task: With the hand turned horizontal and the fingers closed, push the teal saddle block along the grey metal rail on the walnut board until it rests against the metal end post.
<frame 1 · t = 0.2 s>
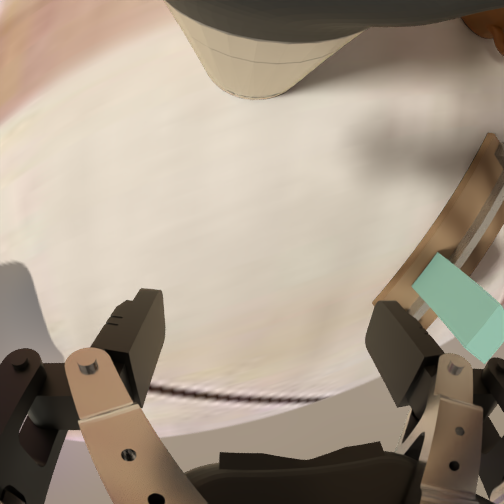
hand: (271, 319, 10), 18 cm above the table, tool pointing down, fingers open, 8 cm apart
board: (459, 237, 29), on the table
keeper: (463, 306, 24), point 7 cm above the table, slide at -6.0 cm
rail: (487, 256, 24), on the board, point 6 cm above the table
mug: (472, 25, 18), on the table
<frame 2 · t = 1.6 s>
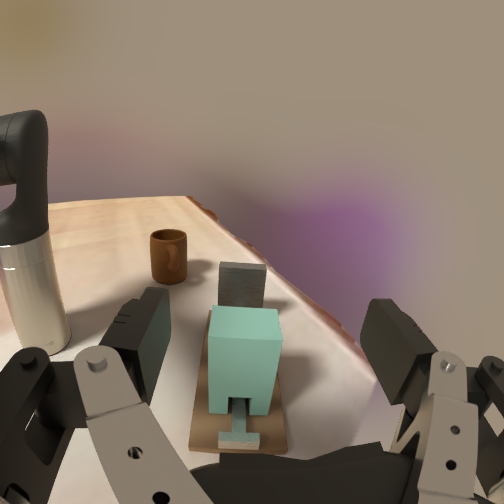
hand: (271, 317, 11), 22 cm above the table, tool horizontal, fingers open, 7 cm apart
board: (238, 372, 37), on the table
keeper: (241, 365, 29), point 7 cm above the table, slide at -6.0 cm
rail: (240, 339, 35), on the board, point 6 cm above the table
mug: (171, 282, 59), on the table
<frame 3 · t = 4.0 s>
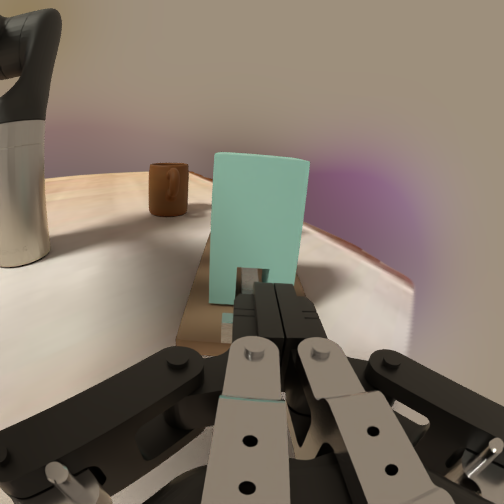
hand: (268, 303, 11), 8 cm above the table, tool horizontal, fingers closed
board: (246, 276, 31), on the table
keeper: (254, 227, 23), point 7 cm above the table, slide at -6.0 cm
rail: (250, 224, 29), on the board, point 6 cm above the table
mug: (169, 216, 53), on the table
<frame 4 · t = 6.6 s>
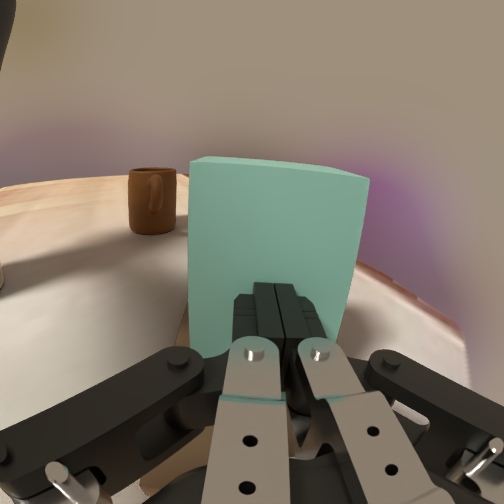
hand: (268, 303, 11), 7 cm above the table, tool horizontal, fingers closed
board: (249, 338, 21), on the table
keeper: (264, 283, 14), point 7 cm above the table, slide at -5.1 cm, touching gripper
mug: (153, 233, 43), on the table
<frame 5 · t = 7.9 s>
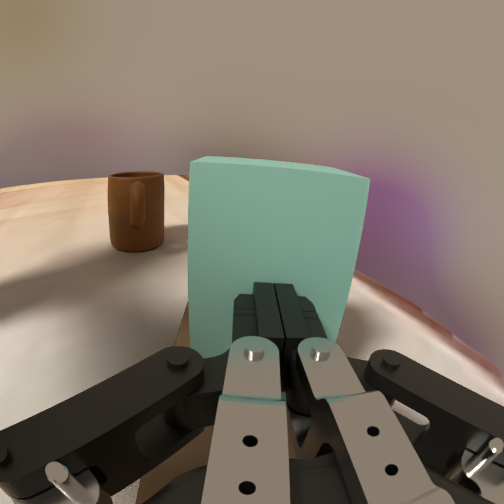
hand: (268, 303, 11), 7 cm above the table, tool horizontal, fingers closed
board: (254, 417, 14), on the table
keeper: (264, 283, 14), point 7 cm above the table, slide at 2.5 cm, touching gripper
mug: (138, 250, 36), on the table
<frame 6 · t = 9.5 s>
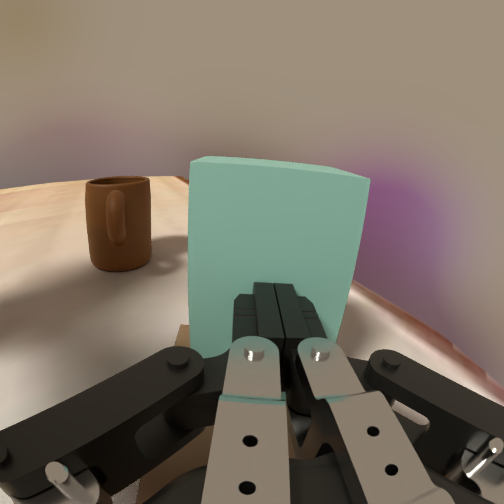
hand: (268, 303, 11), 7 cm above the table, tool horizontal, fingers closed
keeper: (264, 283, 14), point 7 cm above the table, slide at 8.5 cm, touching gripper, rail
mug: (121, 269, 30), on the table
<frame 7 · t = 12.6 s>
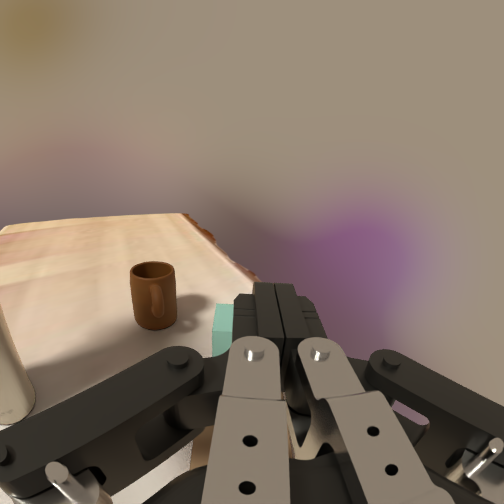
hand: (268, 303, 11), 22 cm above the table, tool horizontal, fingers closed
board: (241, 459, 24), on the table
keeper: (244, 361, 30), point 7 cm above the table, slide at 8.5 cm, touching rail
mug: (157, 326, 46), on the table
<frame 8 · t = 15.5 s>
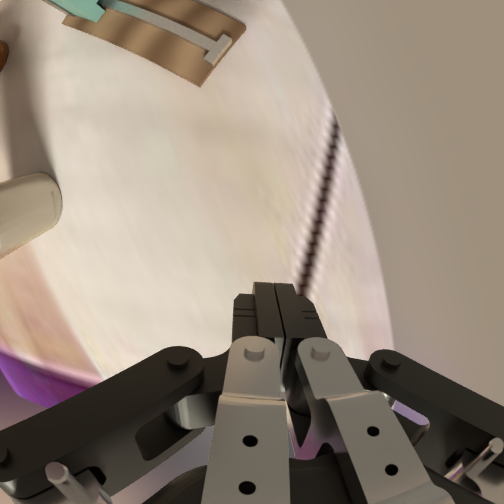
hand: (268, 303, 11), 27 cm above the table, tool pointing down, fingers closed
board: (144, 19, 27), on the table
rail: (131, 3, 22), on the board, point 6 cm above the table
mug: (3, 59, 26), on the table
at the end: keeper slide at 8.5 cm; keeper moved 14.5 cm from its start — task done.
